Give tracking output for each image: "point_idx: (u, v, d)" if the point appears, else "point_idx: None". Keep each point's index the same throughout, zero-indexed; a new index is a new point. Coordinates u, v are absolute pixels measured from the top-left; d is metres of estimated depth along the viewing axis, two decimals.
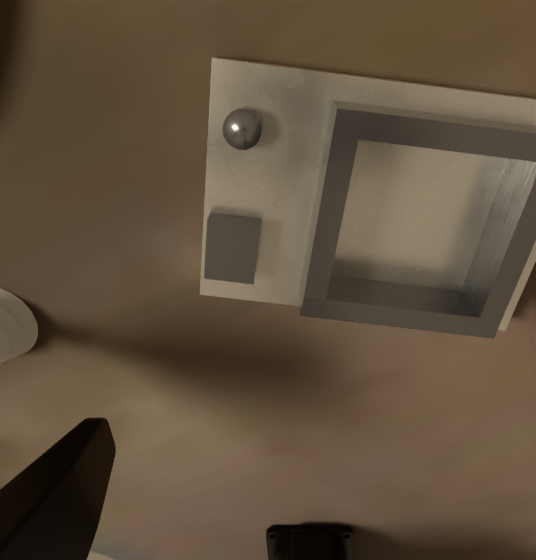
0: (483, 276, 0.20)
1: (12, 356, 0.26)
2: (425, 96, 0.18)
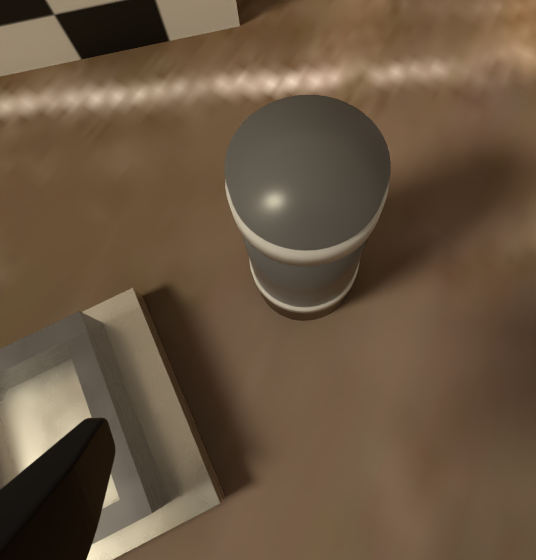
0: None
1: None
2: None
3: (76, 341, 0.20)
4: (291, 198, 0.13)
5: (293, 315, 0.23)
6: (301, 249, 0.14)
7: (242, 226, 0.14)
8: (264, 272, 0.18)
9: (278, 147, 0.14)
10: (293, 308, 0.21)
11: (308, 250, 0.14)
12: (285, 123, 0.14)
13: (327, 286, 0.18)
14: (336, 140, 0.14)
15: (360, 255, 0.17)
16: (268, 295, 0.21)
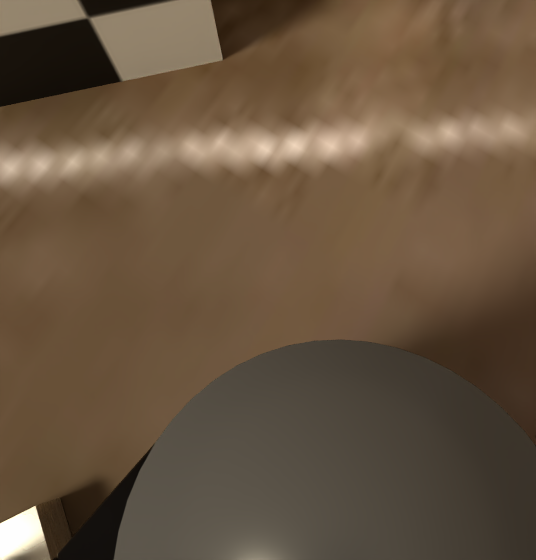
0: None
1: None
2: None
3: None
4: None
5: None
6: None
7: None
8: None
9: (265, 511, 0.05)
10: None
11: None
12: (285, 430, 0.05)
13: None
14: (429, 497, 0.05)
15: None
16: None
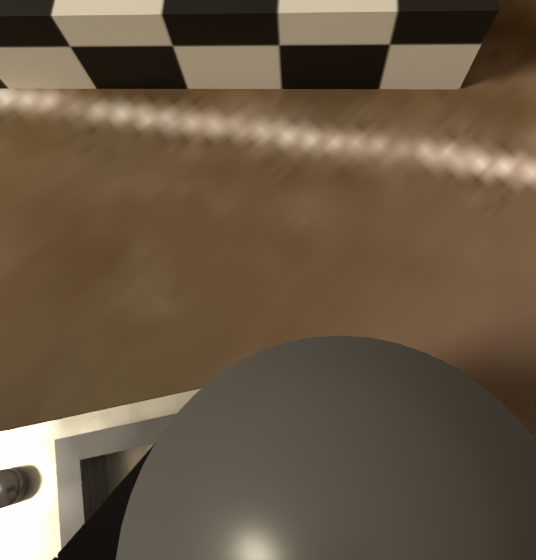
0: None
1: None
2: (159, 406, 0.21)
3: None
4: None
5: None
6: None
7: None
8: None
9: (267, 506, 0.05)
10: None
11: None
12: (287, 426, 0.05)
13: None
14: (431, 493, 0.05)
15: None
16: None
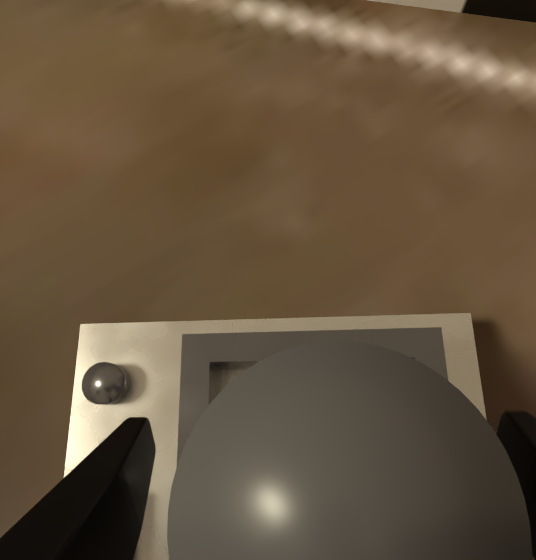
0: None
1: None
2: (289, 328, 0.18)
3: (428, 363, 0.15)
4: None
5: None
6: None
7: None
8: None
9: (283, 470, 0.07)
10: None
11: None
12: (298, 409, 0.07)
13: None
14: (407, 459, 0.06)
15: None
16: None
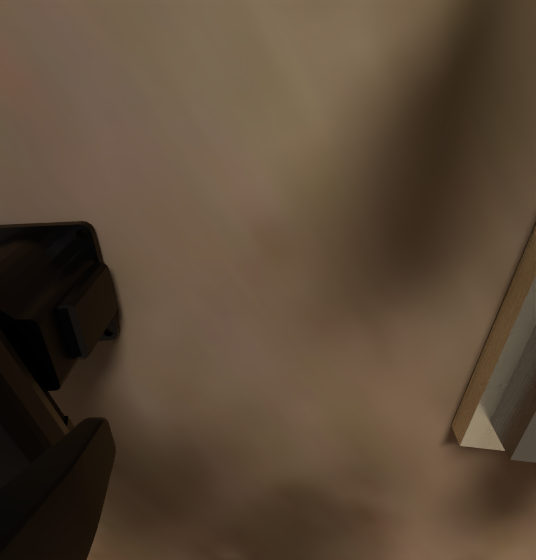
0: None
1: None
2: None
3: None
4: None
5: None
6: None
7: None
8: None
9: None
10: None
11: None
12: None
13: None
14: None
15: None
16: None
